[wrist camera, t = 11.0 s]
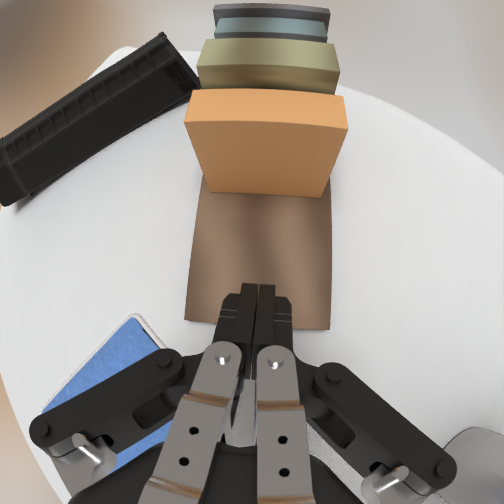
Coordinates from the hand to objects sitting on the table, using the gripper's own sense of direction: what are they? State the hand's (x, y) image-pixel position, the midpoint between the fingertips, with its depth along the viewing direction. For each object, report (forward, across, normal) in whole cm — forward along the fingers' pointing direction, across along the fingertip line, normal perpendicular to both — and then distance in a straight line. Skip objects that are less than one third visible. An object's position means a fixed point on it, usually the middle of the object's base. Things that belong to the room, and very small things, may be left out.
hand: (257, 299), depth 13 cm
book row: (+16, 0, 0) cm, 17 cm away
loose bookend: (+15, 0, -1) cm, 15 cm away
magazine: (+21, +22, -4) cm, 31 cm away
